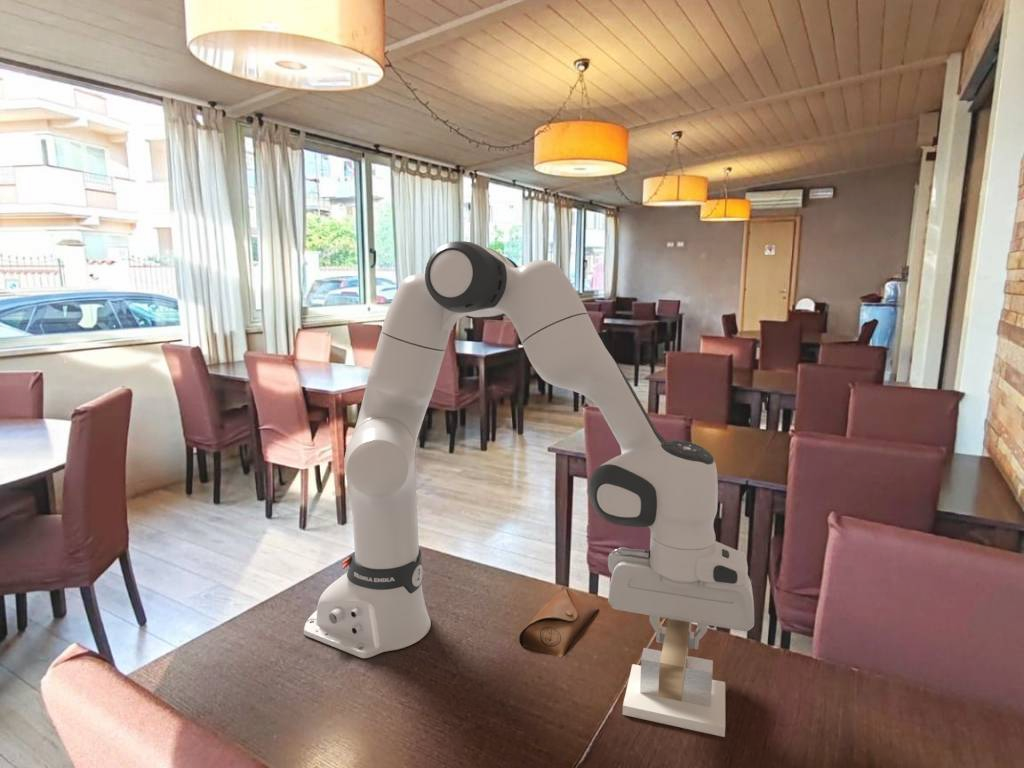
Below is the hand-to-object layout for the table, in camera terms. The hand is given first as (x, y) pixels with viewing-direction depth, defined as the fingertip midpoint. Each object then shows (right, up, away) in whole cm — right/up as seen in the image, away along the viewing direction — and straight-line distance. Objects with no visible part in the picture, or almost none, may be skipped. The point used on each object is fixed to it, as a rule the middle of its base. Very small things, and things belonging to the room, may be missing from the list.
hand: (677, 643), depth 90 cm
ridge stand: (0, -9, +2) cm, 10 cm away
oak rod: (0, -2, 0) cm, 2 cm away
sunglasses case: (-15, -7, +22) cm, 27 cm away
